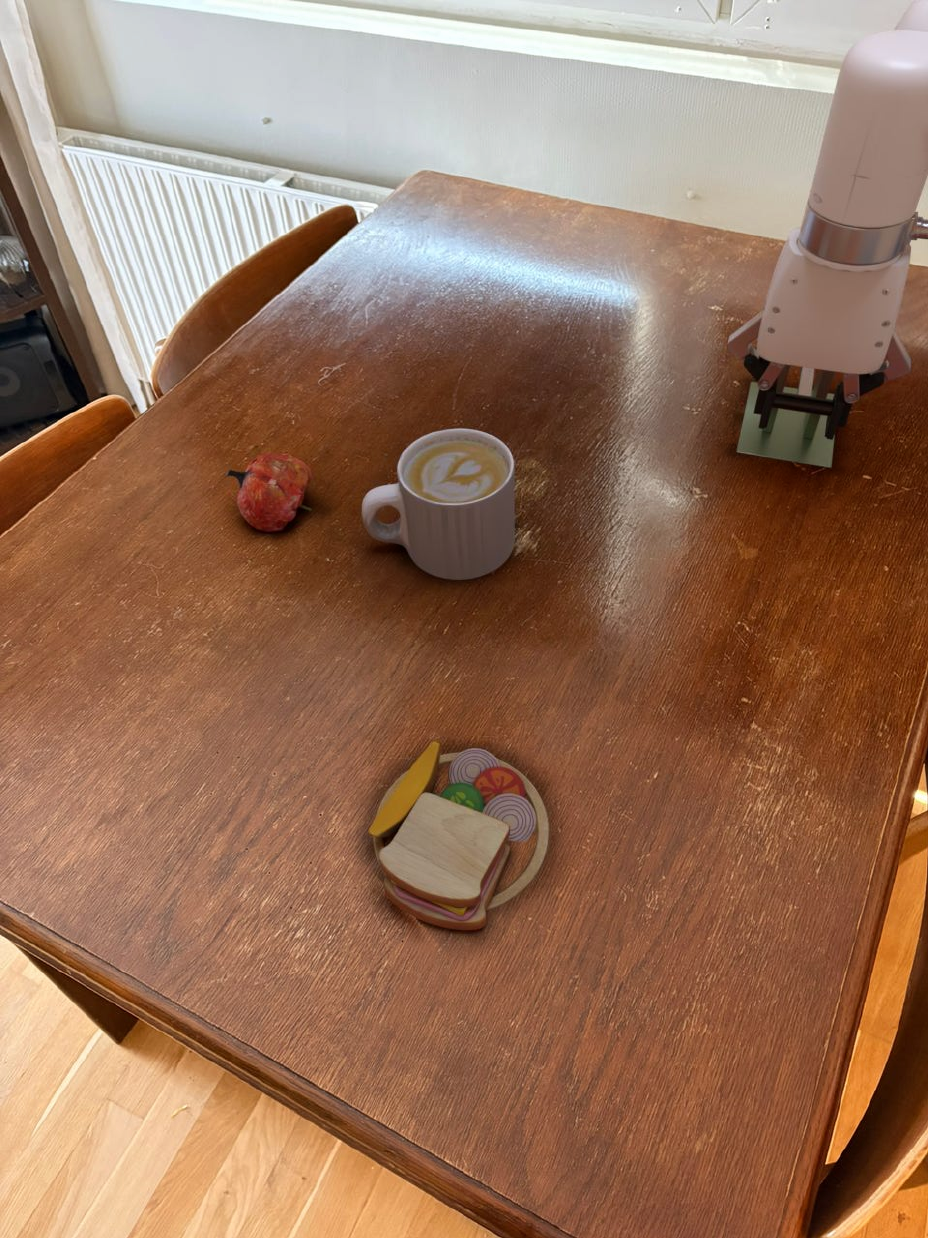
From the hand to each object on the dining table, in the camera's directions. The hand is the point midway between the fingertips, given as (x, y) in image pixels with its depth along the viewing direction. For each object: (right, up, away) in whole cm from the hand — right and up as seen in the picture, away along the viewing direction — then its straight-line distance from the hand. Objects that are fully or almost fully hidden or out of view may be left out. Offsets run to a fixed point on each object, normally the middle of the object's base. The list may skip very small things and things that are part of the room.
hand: (796, 422), depth 81 cm
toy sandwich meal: (-30, -34, -16) cm, 48 cm away
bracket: (+3, +2, +11) cm, 12 cm away
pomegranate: (-47, -8, +6) cm, 49 cm away
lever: (+1, +4, +2) cm, 5 cm away
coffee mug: (-32, -11, +3) cm, 34 cm away
